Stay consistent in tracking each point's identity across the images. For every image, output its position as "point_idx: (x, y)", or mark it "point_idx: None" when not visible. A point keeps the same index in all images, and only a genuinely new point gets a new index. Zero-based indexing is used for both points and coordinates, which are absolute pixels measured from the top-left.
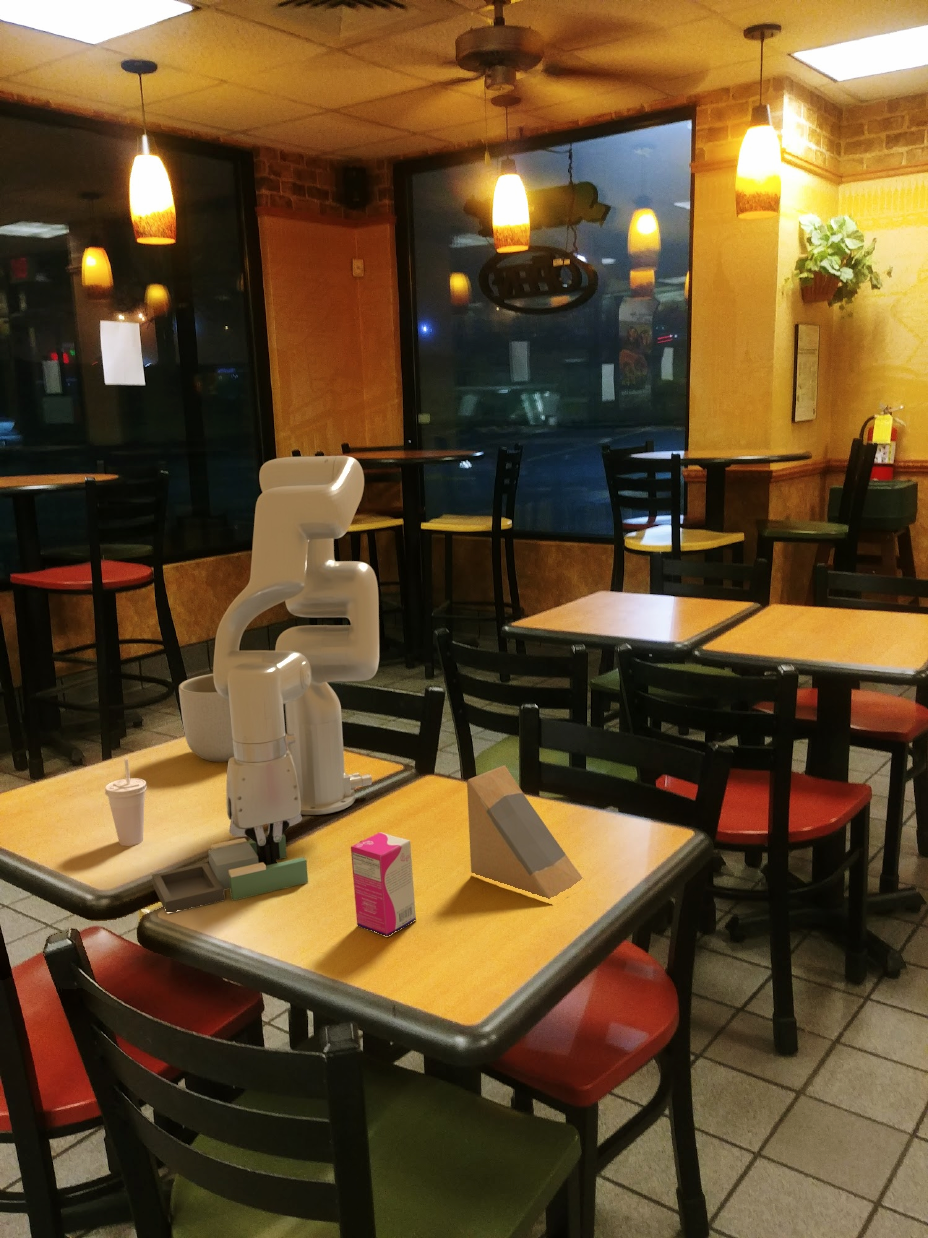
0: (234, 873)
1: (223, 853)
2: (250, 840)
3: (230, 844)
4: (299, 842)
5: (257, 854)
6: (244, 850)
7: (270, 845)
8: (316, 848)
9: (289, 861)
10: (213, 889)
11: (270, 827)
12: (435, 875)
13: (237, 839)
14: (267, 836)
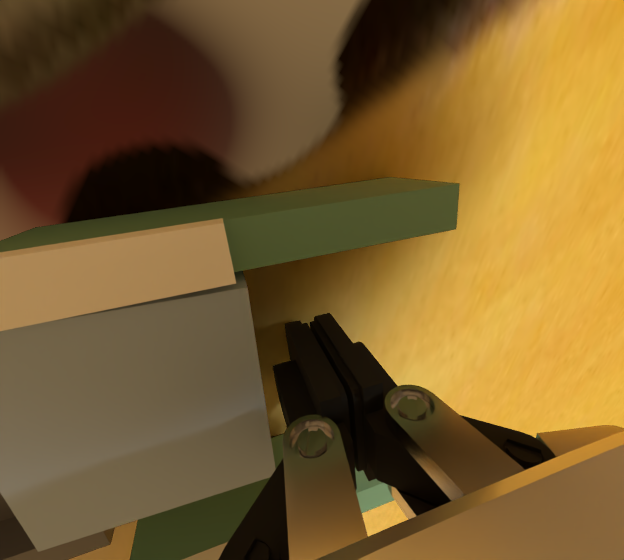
0: None
1: (65, 418)
2: (264, 215)
3: (110, 306)
4: (481, 58)
5: (278, 386)
6: (212, 399)
7: (357, 467)
8: (504, 166)
9: (386, 489)
10: (61, 553)
11: (426, 464)
12: (607, 423)
13: (167, 238)
14: (371, 428)
